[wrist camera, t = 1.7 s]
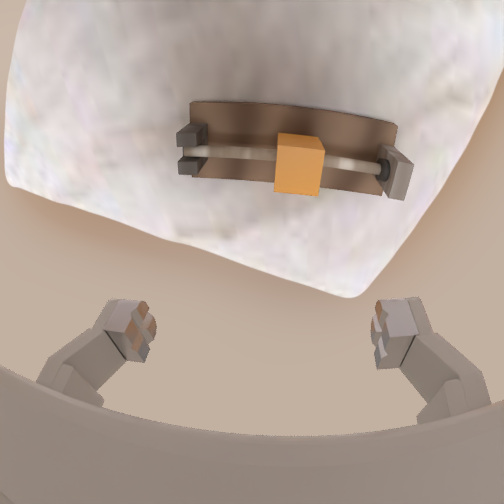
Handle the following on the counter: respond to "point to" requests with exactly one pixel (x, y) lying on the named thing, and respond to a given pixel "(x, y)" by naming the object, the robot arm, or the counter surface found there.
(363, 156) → the cord board
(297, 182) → the notched orange cube
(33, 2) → the counter surface
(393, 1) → the counter surface
